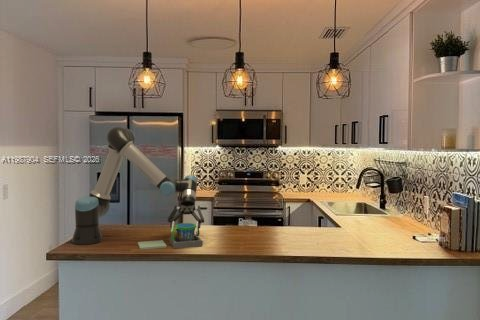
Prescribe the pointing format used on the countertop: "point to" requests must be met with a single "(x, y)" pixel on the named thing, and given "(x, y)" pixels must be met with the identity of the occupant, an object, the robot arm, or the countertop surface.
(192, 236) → the snack cup
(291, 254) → the countertop surface
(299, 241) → the countertop surface
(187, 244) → the square frame
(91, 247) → the countertop surface
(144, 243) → the mat
